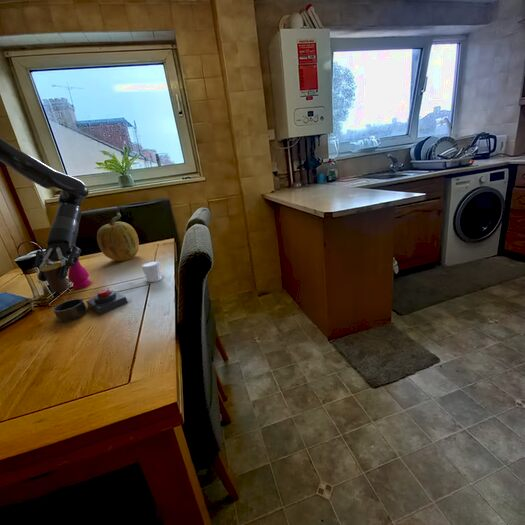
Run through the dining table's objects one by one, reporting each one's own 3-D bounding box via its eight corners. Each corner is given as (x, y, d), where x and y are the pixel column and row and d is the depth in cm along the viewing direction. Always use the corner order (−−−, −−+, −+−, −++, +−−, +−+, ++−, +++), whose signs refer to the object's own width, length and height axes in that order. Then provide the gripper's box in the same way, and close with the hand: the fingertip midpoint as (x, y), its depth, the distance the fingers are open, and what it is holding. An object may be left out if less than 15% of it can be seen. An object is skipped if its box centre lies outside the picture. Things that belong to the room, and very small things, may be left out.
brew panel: (101, 314, 91) (97, 304, 89) (88, 306, 98) (84, 296, 96) (127, 302, 97) (124, 292, 96) (114, 296, 104) (110, 286, 103)
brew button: (101, 298, 94) (99, 294, 93) (97, 296, 96) (95, 292, 95) (112, 294, 96) (110, 289, 96) (107, 292, 99) (106, 287, 98)
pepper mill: (90, 280, 123) (74, 237, 116) (93, 284, 118) (76, 239, 111) (71, 286, 119) (53, 241, 112) (73, 291, 113) (55, 244, 107)
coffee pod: (53, 294, 86) (42, 271, 83) (47, 291, 89) (37, 268, 86) (73, 287, 90) (64, 264, 87) (68, 283, 93) (58, 261, 90)
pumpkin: (140, 260, 142) (126, 212, 134) (100, 268, 138) (83, 219, 130) (145, 250, 159) (132, 207, 151) (109, 257, 156) (94, 213, 147)
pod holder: (62, 325, 87) (57, 314, 86) (54, 318, 93) (49, 307, 91) (90, 312, 93) (86, 302, 92) (81, 306, 98) (77, 296, 97)
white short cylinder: (155, 275, 120) (151, 260, 117) (166, 277, 116) (162, 261, 114) (142, 281, 114) (137, 266, 112) (153, 283, 111) (148, 267, 108)
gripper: (34, 229, 90) (19, 277, 83) (76, 224, 89) (64, 272, 82) (52, 240, 97) (40, 285, 90) (91, 235, 96) (81, 281, 89)
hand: (51, 279), depth 86 cm, fingers closed on coffee pod, 5 cm apart
